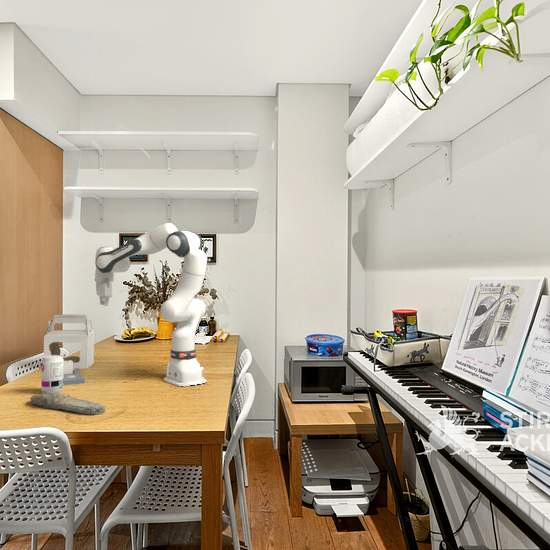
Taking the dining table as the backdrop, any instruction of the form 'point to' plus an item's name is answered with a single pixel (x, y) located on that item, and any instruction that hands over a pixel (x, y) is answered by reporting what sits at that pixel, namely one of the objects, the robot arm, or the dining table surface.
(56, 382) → the supplement can
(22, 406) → the dining table surface
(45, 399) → the elongated rock
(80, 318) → the gable box
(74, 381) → the power board
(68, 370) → the block
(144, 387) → the dining table surface
